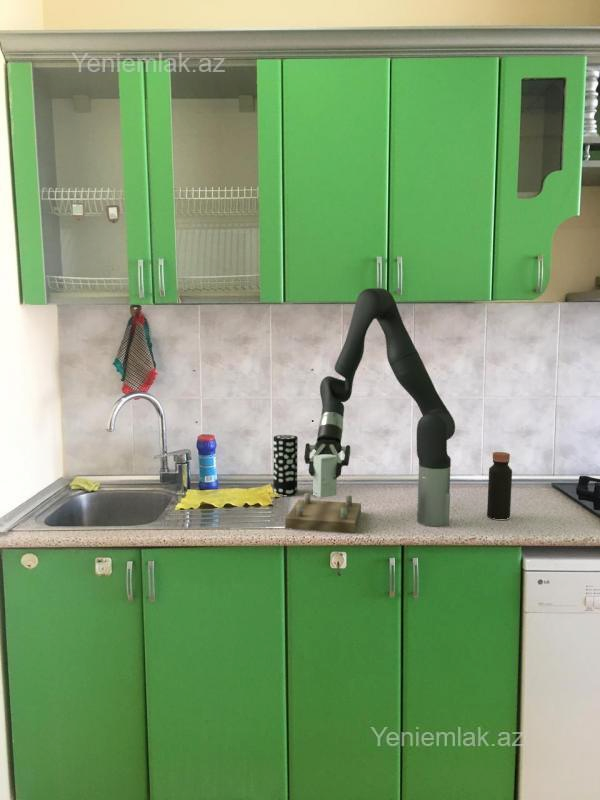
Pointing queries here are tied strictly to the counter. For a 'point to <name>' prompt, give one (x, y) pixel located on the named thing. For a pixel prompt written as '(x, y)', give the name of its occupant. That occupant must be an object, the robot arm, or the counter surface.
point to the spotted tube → (285, 465)
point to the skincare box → (324, 475)
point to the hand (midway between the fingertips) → (324, 475)
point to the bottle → (499, 487)
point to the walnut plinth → (324, 515)
